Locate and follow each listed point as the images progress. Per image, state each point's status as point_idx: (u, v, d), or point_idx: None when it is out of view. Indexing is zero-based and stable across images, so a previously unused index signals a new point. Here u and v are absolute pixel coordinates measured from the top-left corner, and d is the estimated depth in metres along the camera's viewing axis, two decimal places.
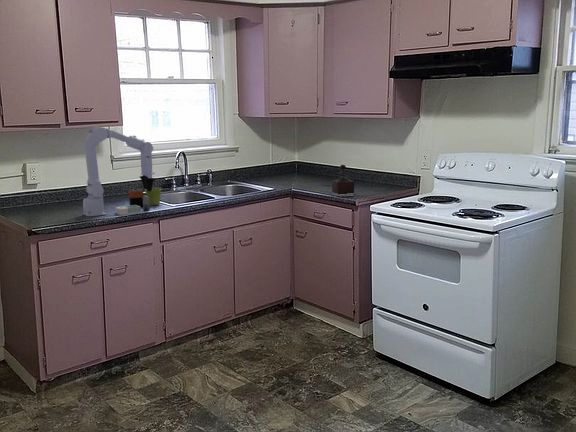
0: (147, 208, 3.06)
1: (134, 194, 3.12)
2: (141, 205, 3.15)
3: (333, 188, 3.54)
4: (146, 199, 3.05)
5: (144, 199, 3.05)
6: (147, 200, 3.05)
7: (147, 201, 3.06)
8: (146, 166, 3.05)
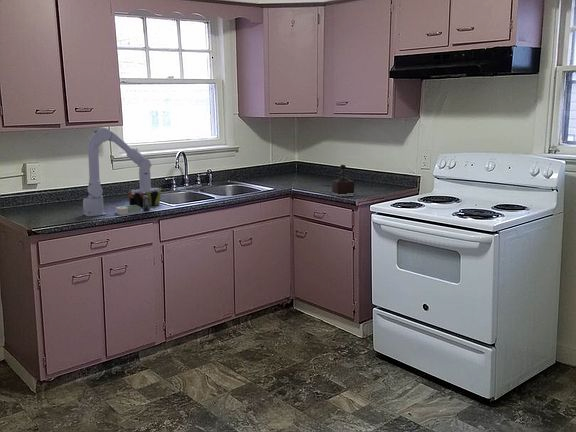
0: (147, 208, 3.06)
1: None
2: (141, 205, 3.15)
3: (333, 188, 3.54)
4: (146, 199, 3.05)
5: (144, 199, 3.05)
6: (147, 200, 3.05)
7: (147, 201, 3.06)
8: None
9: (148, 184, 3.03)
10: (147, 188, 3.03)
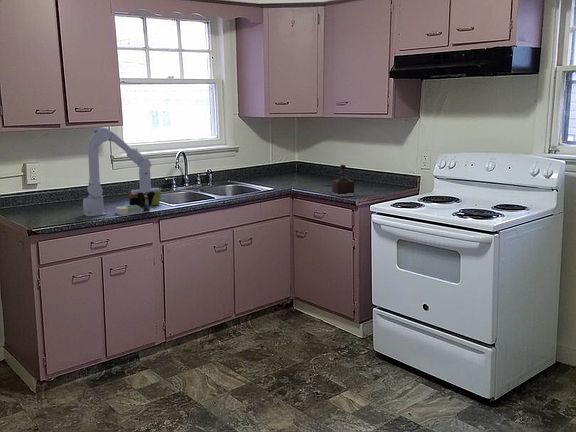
0: (147, 208, 3.06)
1: None
2: None
3: (333, 188, 3.54)
4: (146, 199, 3.05)
5: (144, 199, 3.05)
6: (147, 200, 3.05)
7: (147, 201, 3.06)
8: None
9: (148, 184, 3.03)
10: (147, 188, 3.03)
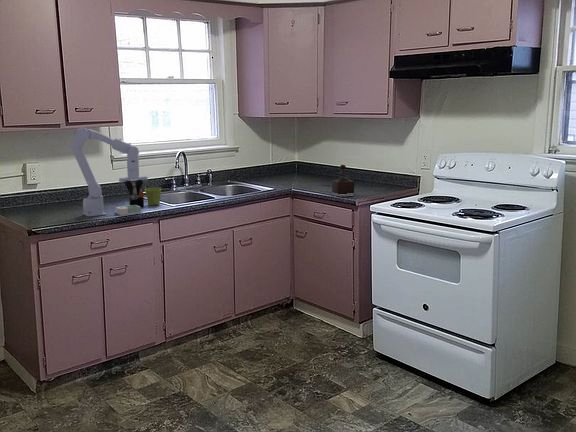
0: (135, 196, 3.01)
1: None
2: (141, 205, 3.15)
3: (333, 188, 3.54)
4: (134, 187, 2.99)
5: (132, 187, 2.99)
6: (135, 188, 3.00)
7: (135, 189, 3.00)
8: (127, 170, 2.98)
9: (136, 172, 2.97)
10: (135, 176, 2.97)
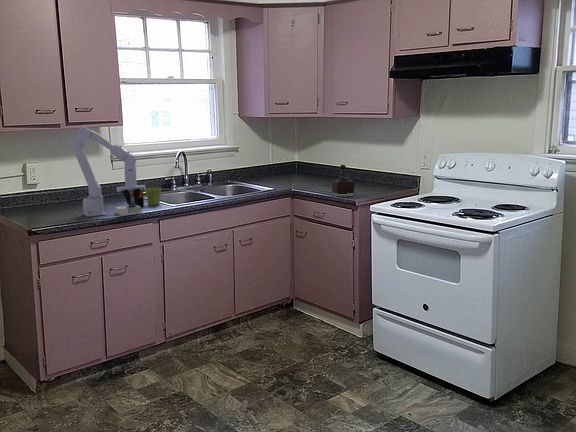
0: (133, 205, 3.00)
1: None
2: (141, 205, 3.15)
3: (333, 188, 3.54)
4: (132, 196, 2.99)
5: (130, 196, 2.99)
6: (133, 197, 3.00)
7: (133, 198, 3.00)
8: (125, 179, 2.98)
9: (134, 181, 2.97)
10: (133, 185, 2.97)
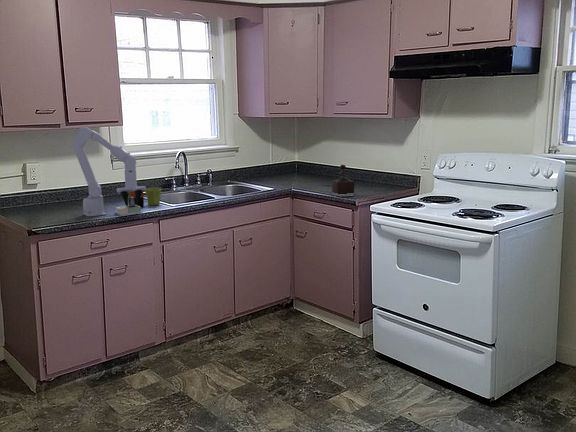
0: None
1: (134, 194, 3.12)
2: (141, 205, 3.15)
3: (333, 188, 3.54)
4: (132, 200, 2.99)
5: (130, 200, 2.99)
6: (133, 201, 3.00)
7: (133, 202, 3.00)
8: (125, 180, 2.98)
9: (134, 182, 2.97)
10: (133, 186, 2.97)
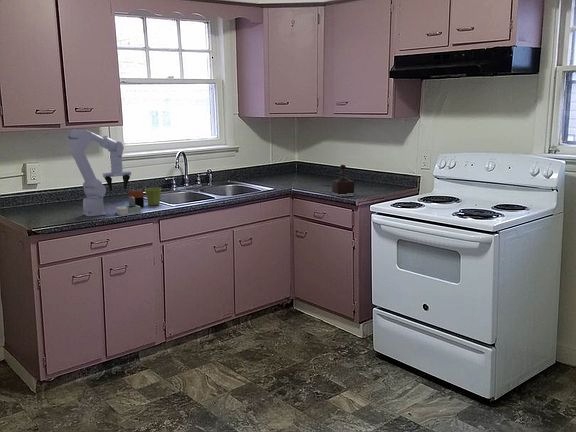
0: None
1: (134, 194, 3.12)
2: (141, 205, 3.15)
3: (333, 188, 3.54)
4: (132, 199, 3.00)
5: (130, 200, 3.00)
6: (133, 201, 3.00)
7: (133, 202, 3.00)
8: (111, 165, 3.06)
9: (119, 167, 3.05)
10: (118, 171, 3.05)
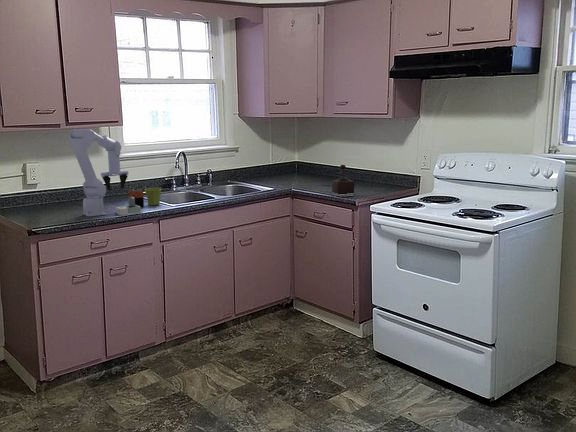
0: None
1: (134, 194, 3.12)
2: (141, 205, 3.15)
3: (333, 188, 3.54)
4: (132, 200, 3.00)
5: (130, 200, 2.99)
6: (133, 201, 3.00)
7: (133, 202, 3.00)
8: None
9: (117, 166, 3.07)
10: (116, 170, 3.06)
